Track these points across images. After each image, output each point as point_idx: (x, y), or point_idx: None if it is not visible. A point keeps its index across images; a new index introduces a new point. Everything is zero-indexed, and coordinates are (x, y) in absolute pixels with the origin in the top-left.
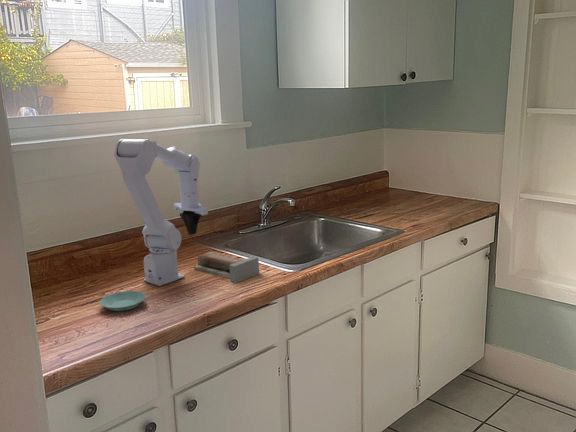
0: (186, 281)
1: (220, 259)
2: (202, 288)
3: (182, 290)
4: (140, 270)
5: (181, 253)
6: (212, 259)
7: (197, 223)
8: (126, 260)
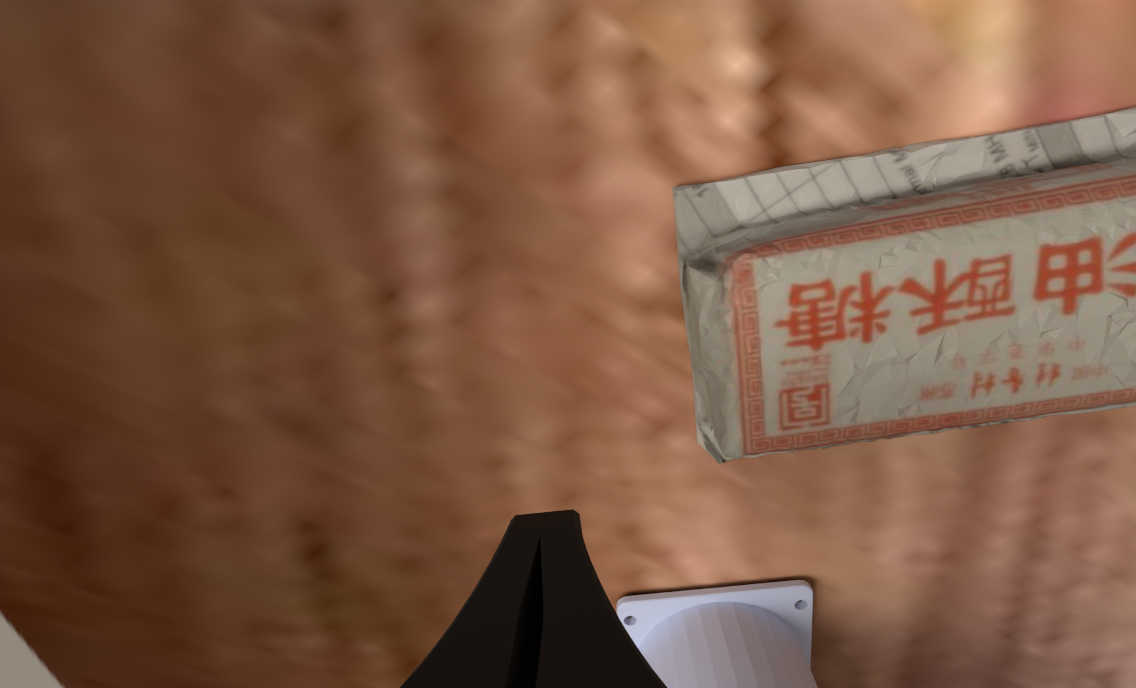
0: (876, 601)
1: (1059, 401)
2: (1077, 598)
3: (979, 680)
4: None
5: (201, 296)
6: (944, 427)
7: (617, 625)
8: (124, 657)
